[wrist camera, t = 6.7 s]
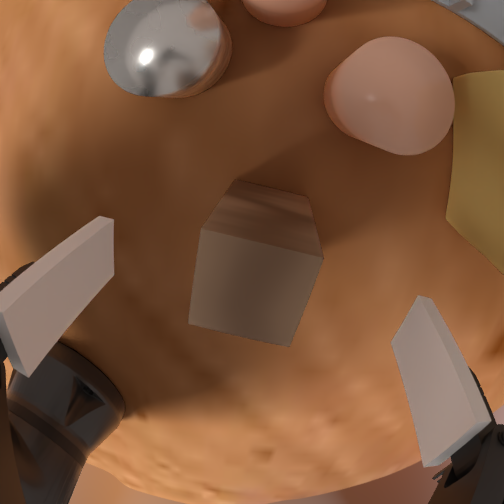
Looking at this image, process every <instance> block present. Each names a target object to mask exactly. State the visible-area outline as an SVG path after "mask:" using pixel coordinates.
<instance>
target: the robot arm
mask: <svg viewBox="0 0 504 504" xmlns="http://www.w3.org/2000/svg"><path fill="white" fill-rule="evenodd" d="M113 276H114V219H110V218H106V217H102V216H98V217H97V218H95V219H94V220H92V221H91V222H89V223H88V224H86V225H85V226H83V227H82V228H81V229H79V230H78V231H76V232H75V233H74V234H72V235H71V236H69V237H68V238H67V239H65V240H64V241H63V242H61V243H60V244H59V245H57V246H56V247H55V248H53V249H52V250H51V251H49V252H48V253H47V254H45V255H44V256H43V257H41V258H40V259H39V260H38V261H36V262H31V263H29V264H26V265H24V266H22V267H20V268H19V269H18V270H17V271H15V272H14V273H13V274H12V276H9V277H8V278H7V279H6V280H5V281H4V282H2V283H1V284H0V504H68V503H69V500H70V498H71V496H72V493H73V491H74V488H75V486H76V483H77V481H78V478H79V476H80V474H81V471H82V468H83V466H84V464H85V462H86V460H87V458H88V456H89V455H90V453H91V452H92V451H93V450H94V449H96V448H97V447H98V446H99V445H100V444H101V443H102V442H103V441H104V440H105V439H106V438H107V437H108V436H109V435H110V434H111V433H112V432H113V431H114V430H115V429H116V428H117V427H118V426H119V424H120V421H121V419H122V417H123V415H124V412H125V405H124V401H123V399H122V397H121V395H120V393H119V392H118V390H117V389H116V388H115V386H114V385H113V384H112V383H111V382H110V380H109V379H108V378H107V377H106V376H105V375H104V374H103V373H102V372H101V371H100V370H99V369H97V368H96V367H95V366H94V365H93V364H92V363H90V362H89V361H88V360H87V359H85V358H84V357H83V356H81V355H80V354H78V353H77V352H75V351H74V350H72V349H70V348H69V347H67V346H65V345H63V344H61V343H59V342H57V341H58V339H59V338H60V337H61V336H62V335H63V333H64V332H65V331H66V330H67V328H68V327H69V326H70V325H71V324H72V322H73V321H74V320H75V319H76V318H77V317H78V315H79V314H80V313H81V312H82V311H83V310H84V308H85V307H86V306H87V305H88V304H89V303H90V301H91V300H92V299H93V298H94V297H95V296H96V295H97V294H98V292H99V291H100V290H101V289H102V288H103V287H104V286H105V285H106V283H107V282H108V281H109V280H110V279H111V278H112V277H113ZM391 345H392V348H393V351H394V354H395V357H396V361H397V364H398V367H399V371H400V374H401V377H402V381H403V384H404V388H405V391H406V395H407V399H408V402H409V406H410V410H411V414H412V418H413V422H414V426H415V430H416V435H417V439H418V443H419V448H420V453H421V458H422V462H423V467H427V466H436V465H440V464H441V463H443V462H444V461H445V460H446V459H448V458H449V457H451V461H452V463H451V464H450V465H448V466H447V467H445V468H444V469H443V470H441V471H440V472H438V473H437V474H436V475H435V476H434V477H433V478H432V479H434V480H435V479H436V478H438V477H439V476H440V475H443V476H442V478H441V479H440V480H438V481H437V482H438V483H439V484H438V486H437V488H436V490H435V492H434V494H433V496H432V497H431V499H430V501H429V503H428V504H504V425H503V424H498V425H497V424H496V422H495V419H494V416H493V414H492V411H491V409H490V406H489V404H488V402H487V399H486V397H485V396H484V392H483V390H482V388H480V383H479V381H478V379H477V377H476V375H475V374H474V373H473V371H472V370H471V369H470V368H469V366H468V365H467V363H466V361H465V359H464V357H463V355H462V353H461V351H460V349H459V347H458V345H457V344H456V342H455V340H454V338H453V336H452V334H451V332H450V330H449V329H448V327H447V325H446V323H445V321H444V320H443V318H442V316H441V314H440V312H439V311H438V309H437V307H436V306H435V304H434V302H433V300H432V299H431V298H428V297H424V296H420V295H418V296H417V298H416V300H415V301H414V303H413V305H412V307H411V309H410V310H409V312H408V314H407V316H406V317H405V319H404V321H403V323H402V324H401V326H400V328H399V329H398V331H397V333H396V334H395V336H394V338H393V339H392V341H391ZM7 357H8V358H9V360H10V362H11V364H12V366H13V371H12V375H11V378H10V381H9V385H8V388H7V392H6V371H5V365H4V363H3V361H4V360H5V359H6V358H7Z"/></svg>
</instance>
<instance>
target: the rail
mask: <svg viewBox="0 0 504 504" xmlns="http://www.w3.org/2000/svg"><path fill="white" fill-rule="evenodd" d="M432 1H434V2H436V3H437V4H439V5H441V6H443V7H445V8H447V9H448V10H450V11H452V12H454V13H455V14H457V15H459V16H460V17H462V18H464V19H465V20H467V21H468V22H470V23H472V24H473V25H475V26H476V27H478V28H479V29H481V30H482V31H484V32H485V33H486V34H488V35H489V36H491V37H492V38H494V39H495V40H496V41H498V42H499V43H500V44H502V45H503V46H504V0H432Z"/></svg>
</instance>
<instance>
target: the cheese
mask: <svg viewBox="0 0 504 504" xmlns="http://www.w3.org/2000/svg"><path fill="white" fill-rule="evenodd" d="M453 92H454V99H455V111H454V117H453V163H452V174H451V183H450V190H449V197H448V204H447V210H446V216H445V218H446V220H447V221H448V222H449V223H450V224H451V225H452V226H453V227H454V228H455V229H456V231H457V232H458V233H459V234H460V235H461V236H462V237H464V238H465V239H466V240H467V241H468V242H469V243H470V244H471V245H472V246H474V247H475V248H476V249H477V250H478V251H479V252H480V253H482V254H483V255H484V256H485V257H486V258H487V259H488V260H489V261H490V262H491V263H492V264H493V265H494V266H495V267H496V268H497V269H498V270H499V271H500V272H501V273H502V274H503V275H504V70H493V71H482V72H473V73H468V74H464V75H460V76H457V77H454V78H453Z"/></svg>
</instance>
